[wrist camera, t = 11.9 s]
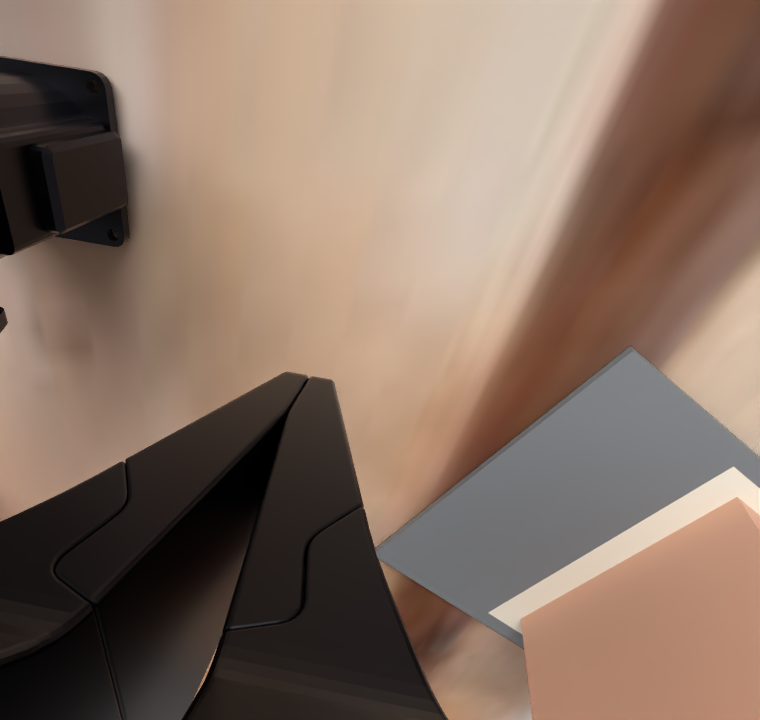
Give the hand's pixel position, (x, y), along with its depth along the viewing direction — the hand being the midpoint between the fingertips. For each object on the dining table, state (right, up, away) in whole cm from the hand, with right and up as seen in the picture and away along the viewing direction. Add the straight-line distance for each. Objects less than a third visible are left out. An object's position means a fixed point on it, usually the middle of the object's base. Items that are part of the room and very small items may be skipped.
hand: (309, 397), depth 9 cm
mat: (+15, -11, +19) cm, 27 cm away
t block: (+19, -14, +20) cm, 31 cm away
